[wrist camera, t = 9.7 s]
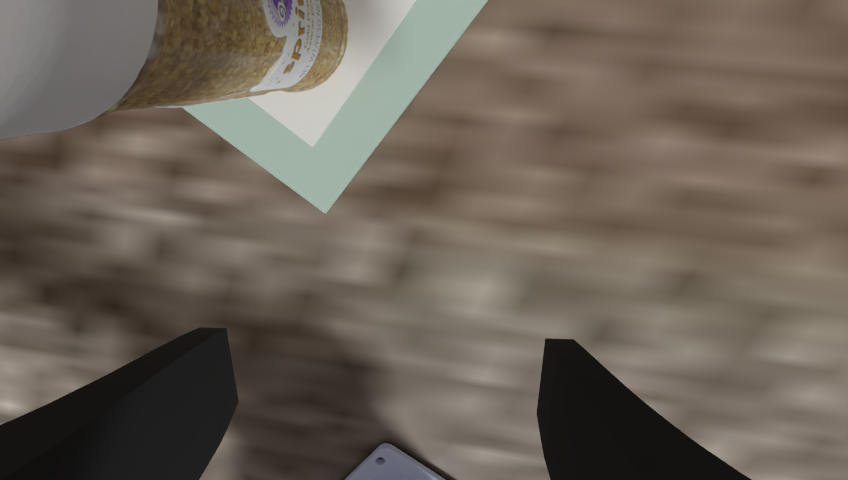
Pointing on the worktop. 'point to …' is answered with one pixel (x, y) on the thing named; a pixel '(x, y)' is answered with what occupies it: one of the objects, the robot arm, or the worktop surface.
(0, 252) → the worktop surface
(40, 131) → the sprinkles bottle
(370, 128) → the green white square tile
